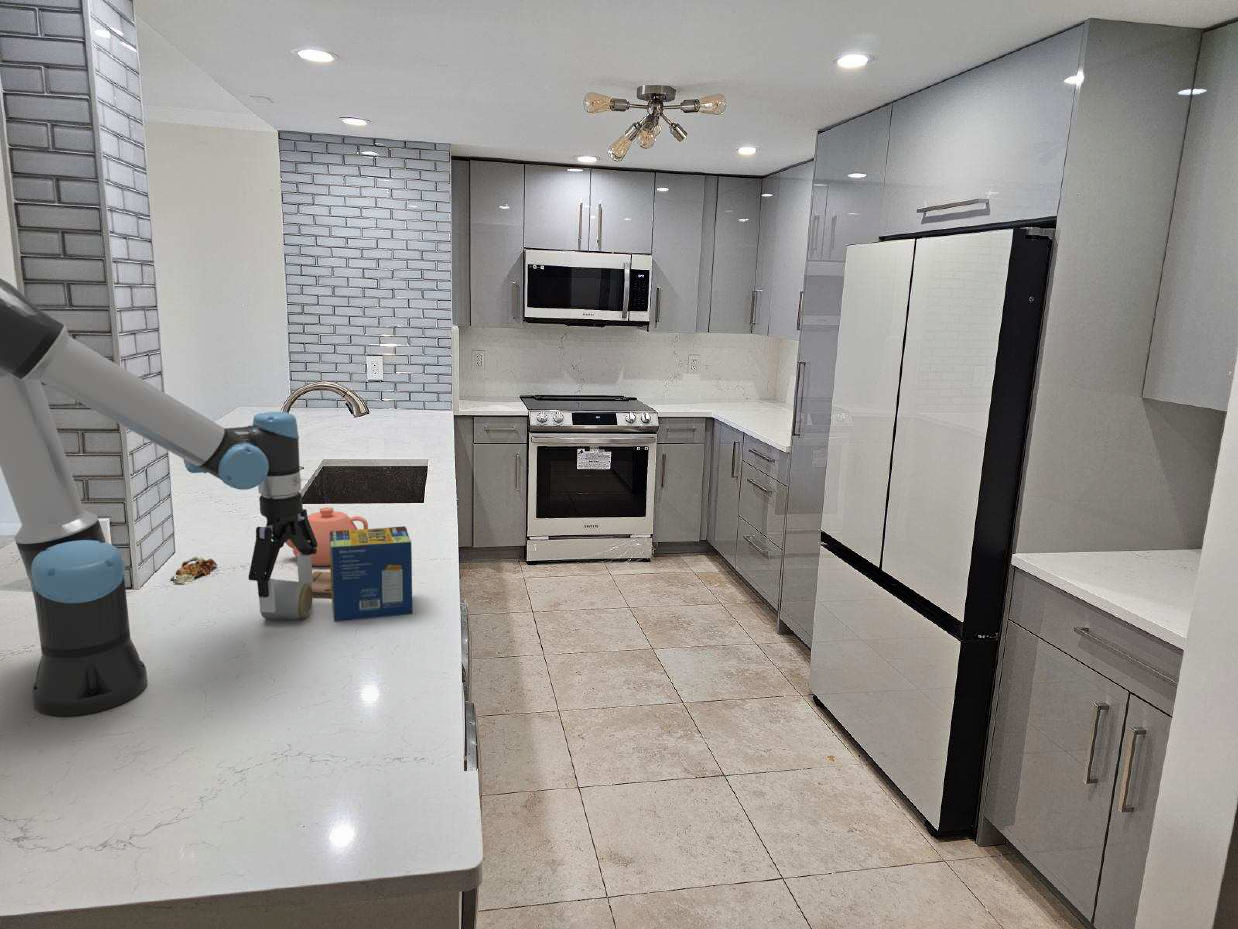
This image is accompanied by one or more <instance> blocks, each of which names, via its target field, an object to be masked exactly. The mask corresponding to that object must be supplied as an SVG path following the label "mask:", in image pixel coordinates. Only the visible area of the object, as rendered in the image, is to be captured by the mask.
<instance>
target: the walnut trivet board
mask: <svg viewBox="0 0 1238 929" xmlns="http://www.w3.org/2000/svg"><path fill="white" fill-rule="evenodd" d="M312 575H313V585H312V586H311V588H312V591H313V599H314V598H316V599H317V598H318V599H319V598H320V599H321V598H322V599H332V592H331V571H312Z"/></svg>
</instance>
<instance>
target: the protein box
mask: <svg viewBox="0 0 1238 929" xmlns="http://www.w3.org/2000/svg"><path fill="white" fill-rule="evenodd" d="M357 529H358V528H357ZM412 548H413V547H412V540H411V538H410V535H409V532H408V529H407V527H406V526H402V525H401V526H393V527H391V526H390V527H378V528H368V529H364V528H360V529H358V530H344V531H330V572H331V592H332V598H331V606H332V607H331V608H332V619H333V621H334V622H339V621H341V622H342V621H349V620H361V619H370V618H381V617H390V616H391V617H392V616H400V615H402V616H403V615H410V614H413V562H412V560H413V559H412V558H413V557H412V556H413V554H412V553H413V552H412V551H413V550H412Z"/></svg>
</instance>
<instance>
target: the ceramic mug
mask: <svg viewBox="0 0 1238 929" xmlns="http://www.w3.org/2000/svg"><path fill="white" fill-rule="evenodd" d="M272 579H273V581H274V595H275V609H276V611H275V612H274V613H270V612H260V615H261V616H262V618H263V619H269V620H270V619H273V620H277V619H278V620H301V619H305V618H307V617H308V615H309V614H310V611H311V609H312V606H313V600H314V598H313V591H312V588H311V586H310V585H309V584H307V583H304V582H299V581H294V580H286V579H285V580H284V579H283V580H282V579H275V578H272Z"/></svg>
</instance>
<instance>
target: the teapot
mask: <svg viewBox="0 0 1238 929" xmlns="http://www.w3.org/2000/svg"><path fill="white" fill-rule="evenodd" d="M334 509H335V508H333V507H329V506H324V507H320V508H319V511H317V512H313V513H310V514H307V516H308V520H309V523H310V526H311V528H312V531H313V533H314V536H315V538H316V541H317V544H318V546H317V548H314V549H317V552H316V554H311V558H312V566H315V567H320V566H321V567H326V566H330V531H344V530H358V527H357V525H356V524H355V523H354V522H356V521H358V522H361V523H362V524H363V529H369V523H368V521H367V520H366V519H365V518H364V517H362V516H360V515H359V516H358V515H355V516H352V517H350V516H349V515H348V514H347V513H345V512H341V511H335V510H334ZM308 542H311V541H308ZM284 544H286V545H287V546H288V547H289V548H291V549H292V553H293V554H294V556H295V557H296V558H297V555H298V554H302V553H300V552H299V551H298V550H297V548H296V547H295V546H294V544H293V543H292V542H291V540H290V539H288V540H287V541H286V542H285V543H284Z"/></svg>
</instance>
